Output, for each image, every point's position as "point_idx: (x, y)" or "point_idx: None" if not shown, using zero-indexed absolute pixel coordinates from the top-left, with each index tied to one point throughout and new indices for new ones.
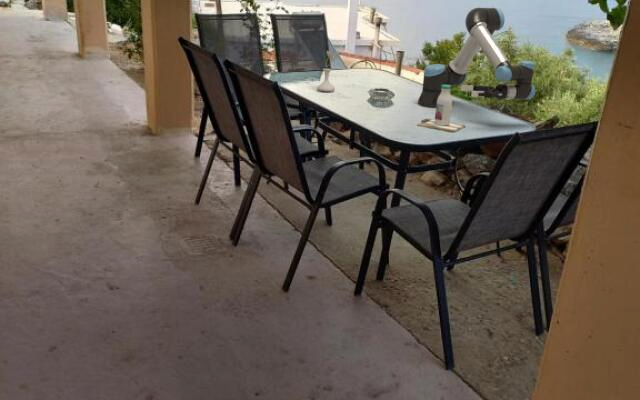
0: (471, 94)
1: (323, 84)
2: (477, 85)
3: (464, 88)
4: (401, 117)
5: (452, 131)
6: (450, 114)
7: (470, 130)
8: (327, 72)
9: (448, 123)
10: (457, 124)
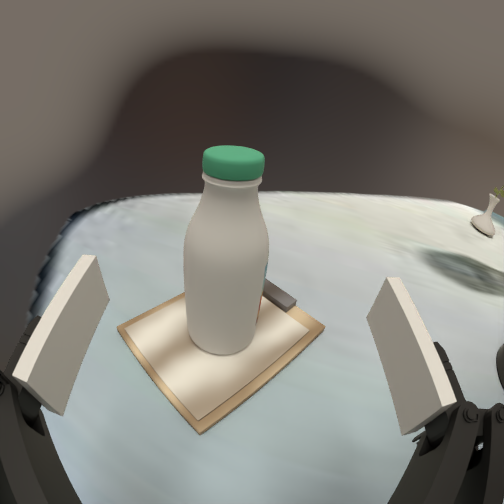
0: (102, 283)
1: (479, 215)
2: (497, 464)
3: (387, 326)
4: (340, 266)
5: (121, 326)
6: (196, 315)
7: (131, 421)
8: (491, 200)
9: (191, 335)
10: (210, 394)
